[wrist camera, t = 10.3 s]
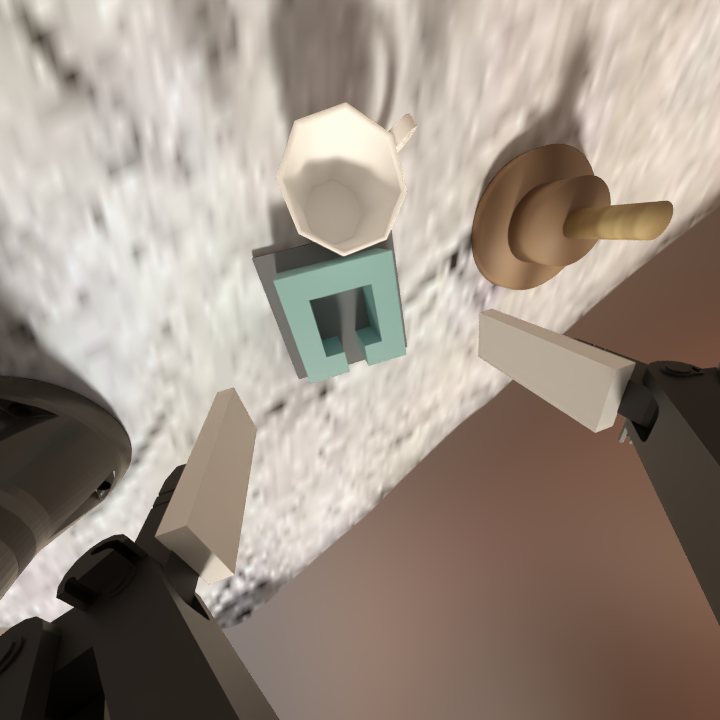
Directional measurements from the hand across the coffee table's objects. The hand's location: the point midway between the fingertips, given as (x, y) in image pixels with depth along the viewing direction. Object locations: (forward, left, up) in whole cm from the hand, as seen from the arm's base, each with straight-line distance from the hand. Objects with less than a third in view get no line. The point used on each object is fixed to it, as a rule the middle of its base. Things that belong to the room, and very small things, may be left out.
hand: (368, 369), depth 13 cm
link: (0, 0, -12) cm, 12 cm away
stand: (+20, +3, -13) cm, 24 cm away
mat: (0, 0, -13) cm, 13 cm away
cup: (+3, +8, -13) cm, 16 cm away
